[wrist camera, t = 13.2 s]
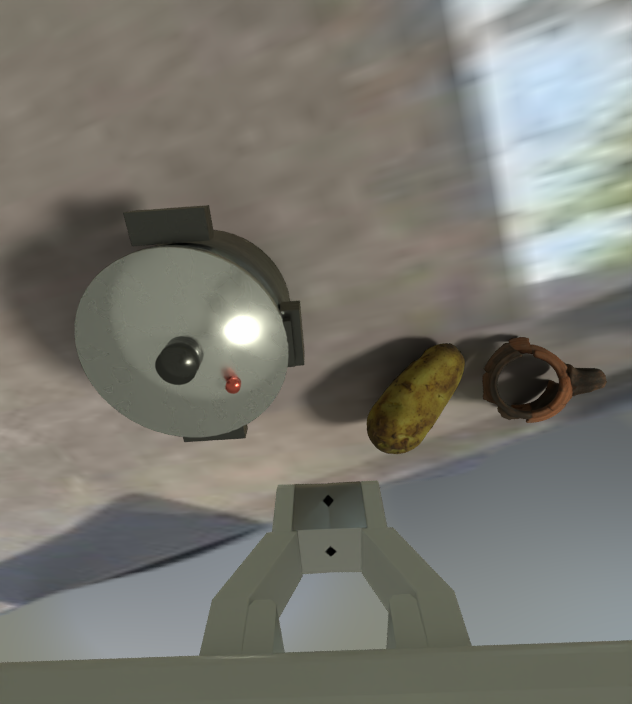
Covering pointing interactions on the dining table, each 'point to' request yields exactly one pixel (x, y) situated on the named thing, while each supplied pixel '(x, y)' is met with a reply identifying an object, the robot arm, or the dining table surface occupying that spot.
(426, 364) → the potato
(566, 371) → the pottery mug
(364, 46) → the dining table surface
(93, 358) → the lid
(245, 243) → the pot
